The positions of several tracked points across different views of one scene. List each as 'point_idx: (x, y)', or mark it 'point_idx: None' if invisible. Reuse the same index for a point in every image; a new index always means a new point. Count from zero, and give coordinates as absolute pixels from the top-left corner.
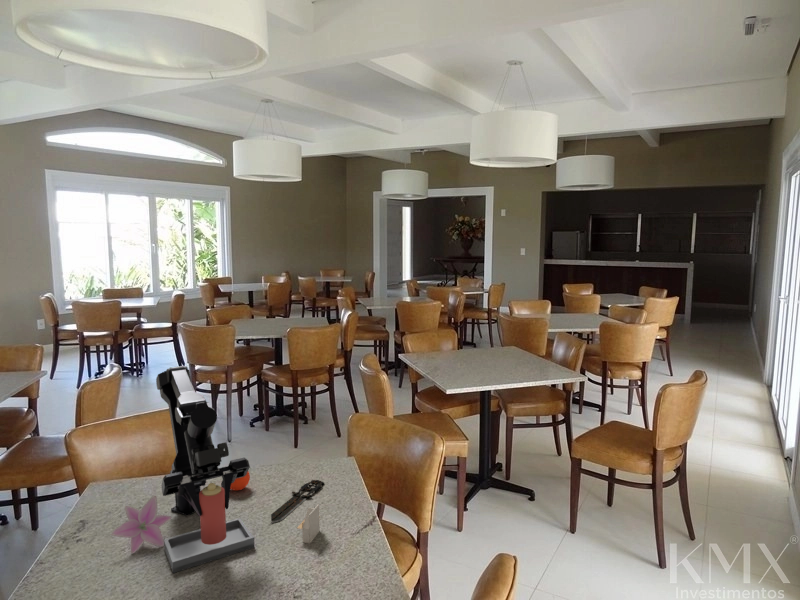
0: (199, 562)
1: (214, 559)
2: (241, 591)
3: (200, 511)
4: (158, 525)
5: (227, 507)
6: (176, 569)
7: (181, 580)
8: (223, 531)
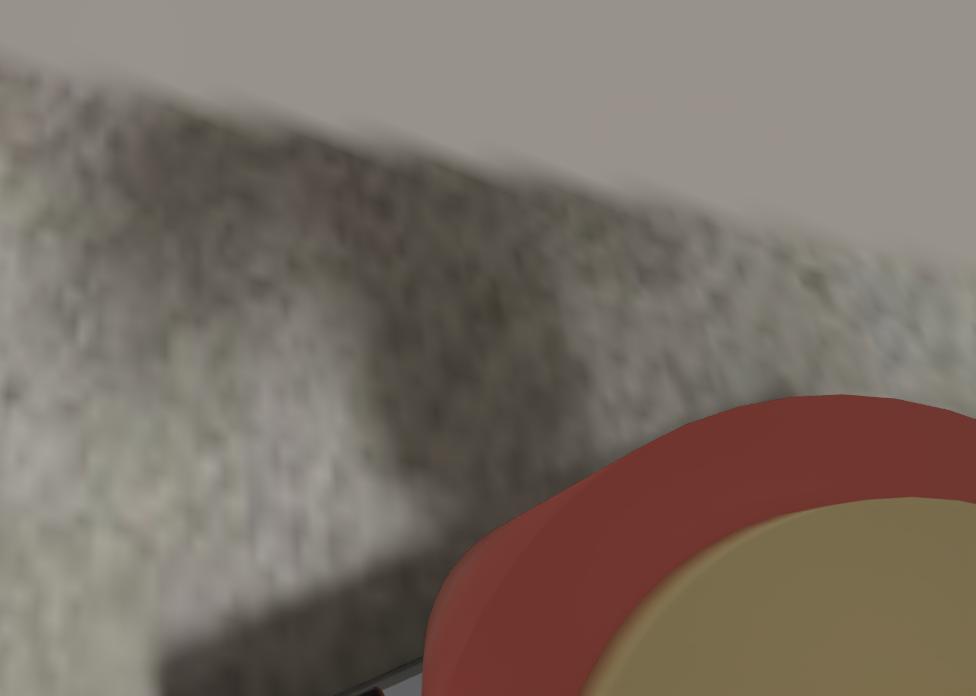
0: None
1: None
2: (271, 141)
3: None
4: None
5: (361, 693)
6: None
7: (735, 365)
8: (445, 584)
